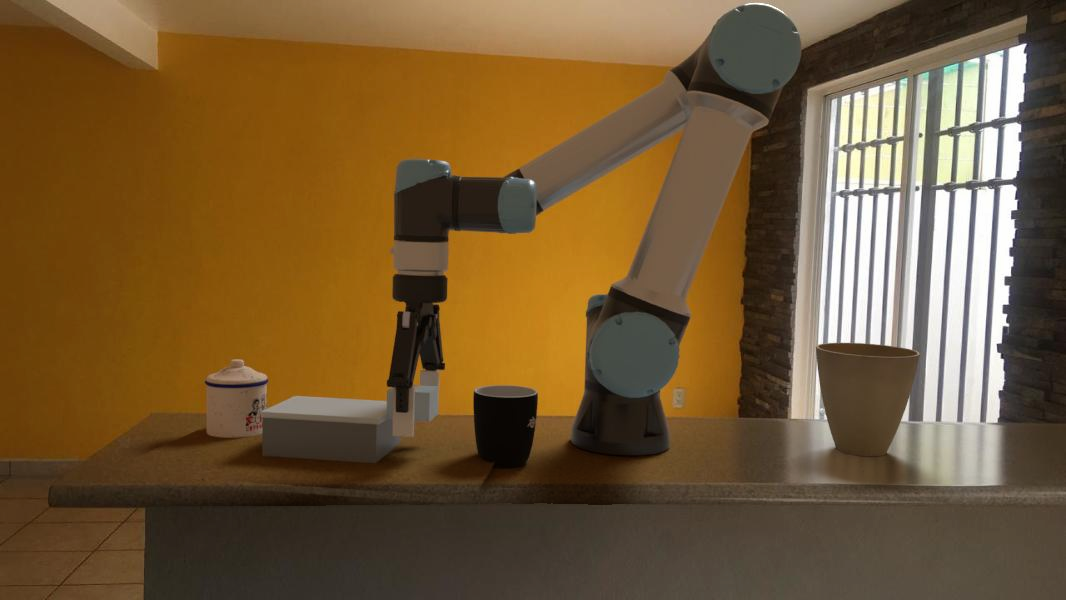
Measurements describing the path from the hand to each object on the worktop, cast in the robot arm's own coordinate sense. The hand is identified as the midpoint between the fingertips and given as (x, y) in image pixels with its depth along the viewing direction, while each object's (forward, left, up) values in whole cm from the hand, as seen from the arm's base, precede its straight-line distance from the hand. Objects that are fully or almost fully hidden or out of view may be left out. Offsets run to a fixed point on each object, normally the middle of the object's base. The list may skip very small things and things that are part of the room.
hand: (416, 424), depth 121 cm
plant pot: (-65, -21, -5) cm, 69 cm away
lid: (+9, 0, 0) cm, 9 cm away
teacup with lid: (+30, -8, -5) cm, 31 cm away
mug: (-12, -3, -5) cm, 13 cm away
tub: (+12, 0, -5) cm, 13 cm away
